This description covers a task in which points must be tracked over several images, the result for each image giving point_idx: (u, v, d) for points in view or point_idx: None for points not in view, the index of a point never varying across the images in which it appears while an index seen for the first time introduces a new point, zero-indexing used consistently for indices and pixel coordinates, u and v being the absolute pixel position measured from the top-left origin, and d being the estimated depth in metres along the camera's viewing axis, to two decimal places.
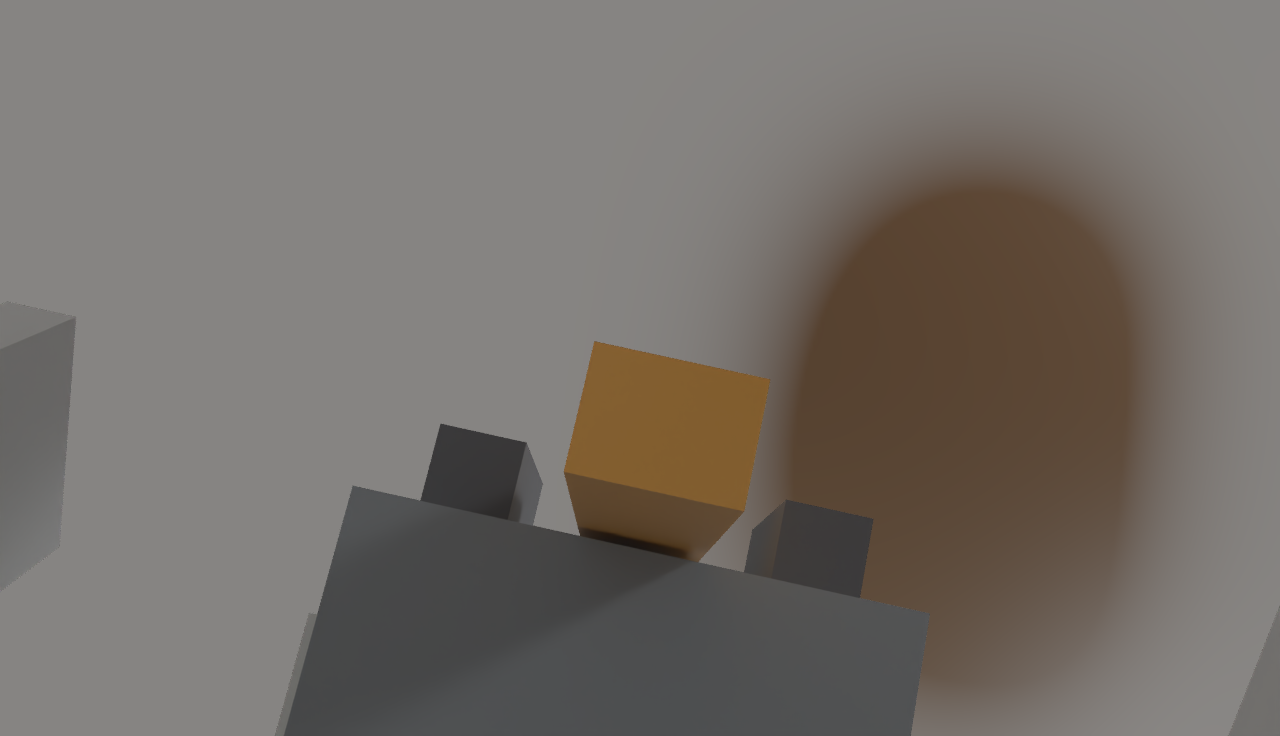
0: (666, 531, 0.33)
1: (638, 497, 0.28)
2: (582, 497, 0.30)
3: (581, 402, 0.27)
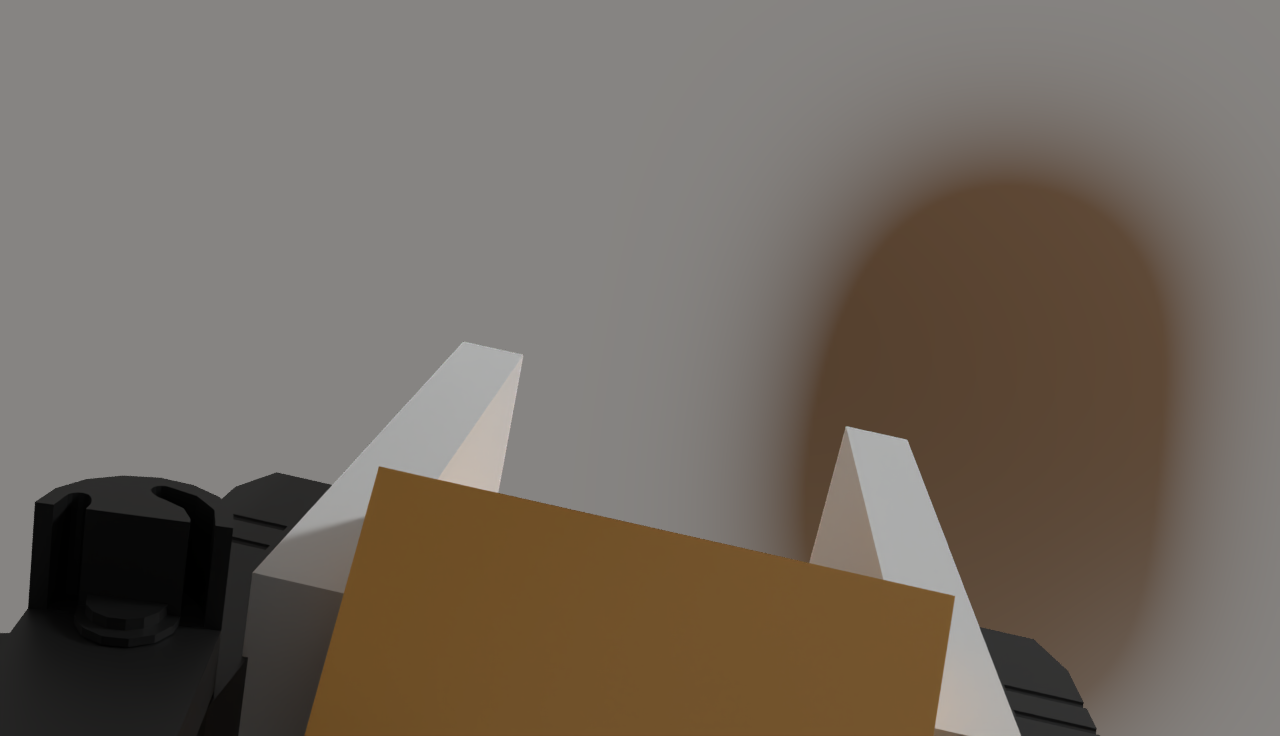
0: None
1: None
2: None
3: (325, 676, 0.08)
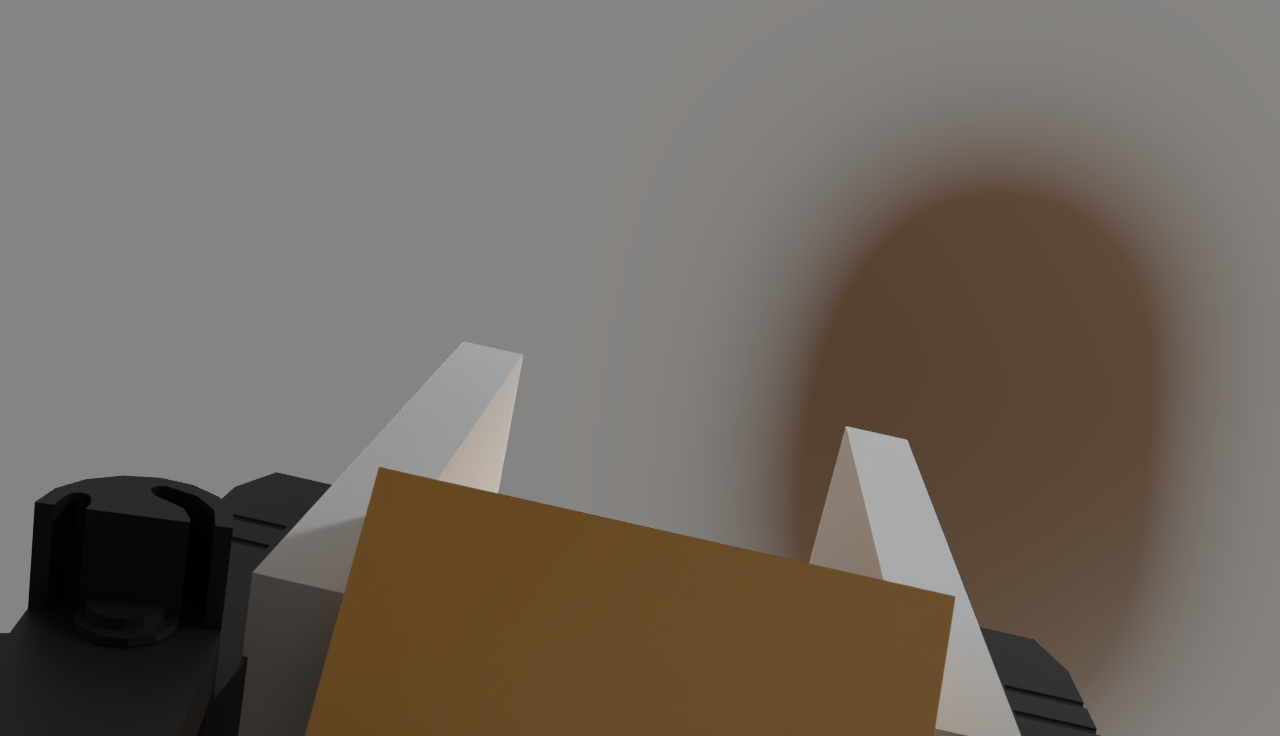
0: None
1: None
2: None
3: (326, 677, 0.08)
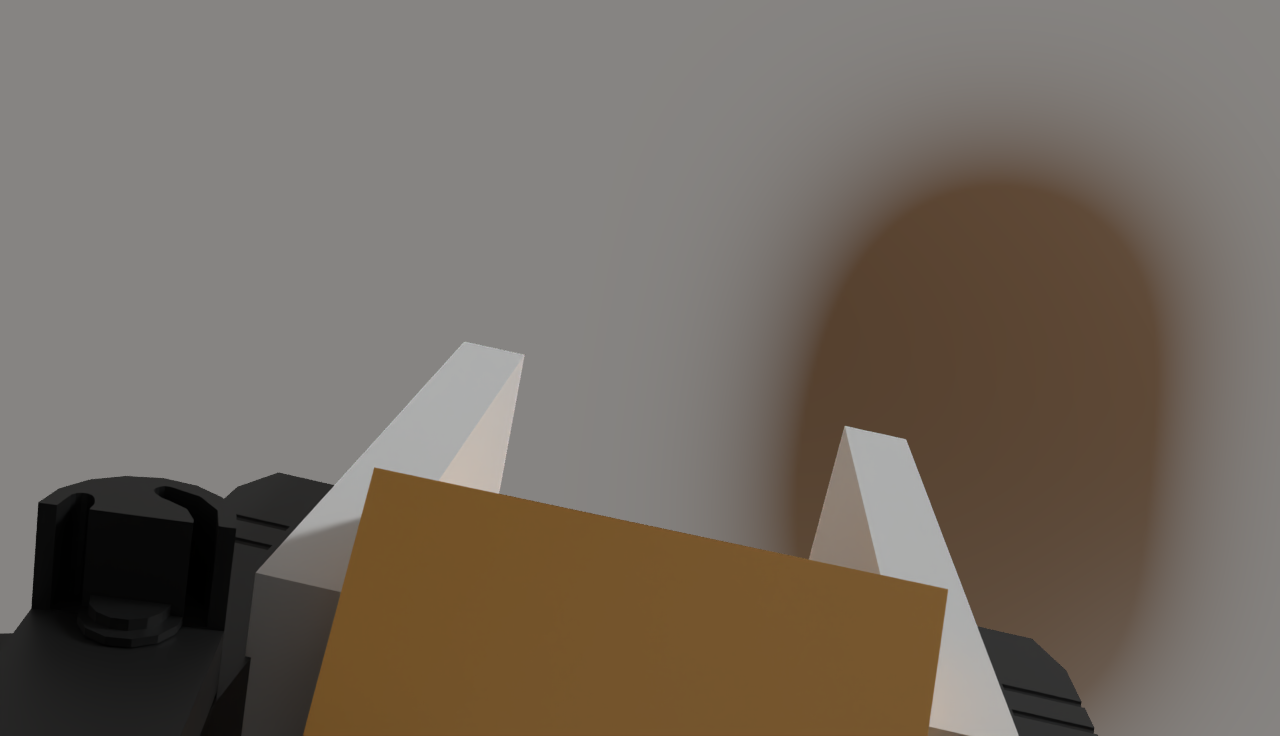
0: None
1: None
2: None
3: (323, 677, 0.08)
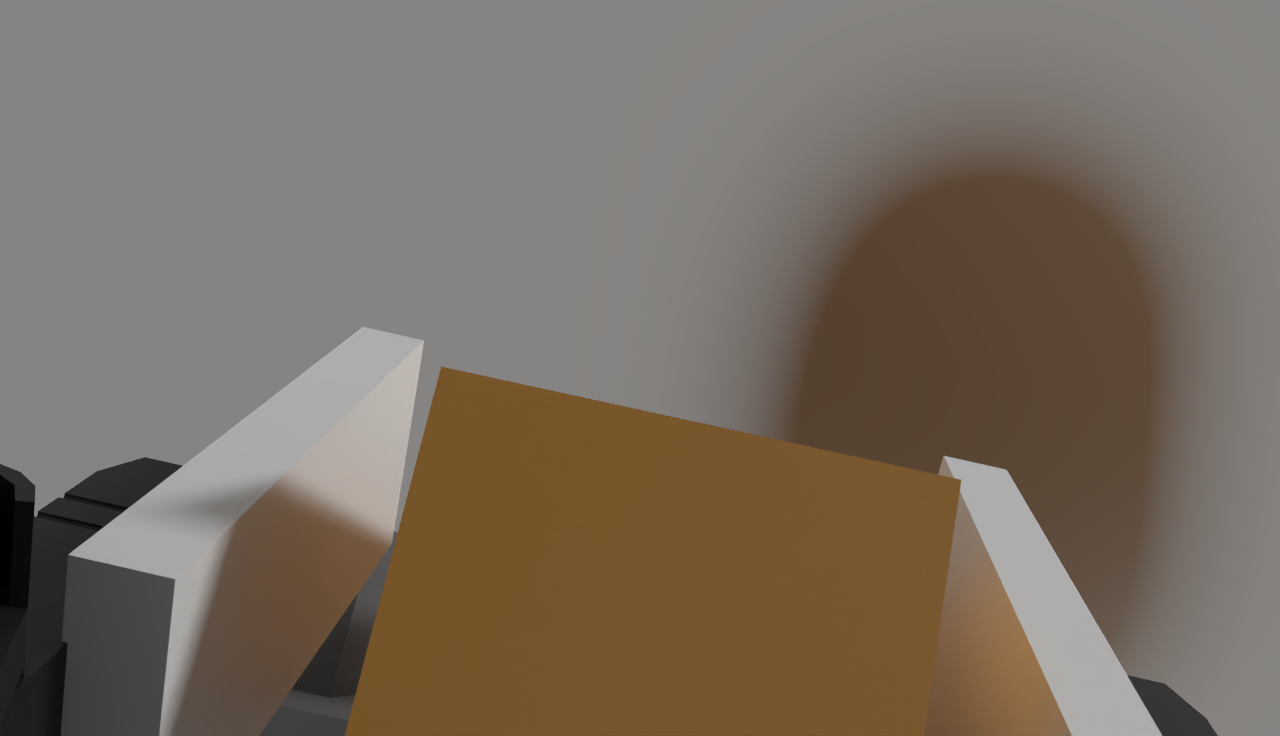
0: None
1: None
2: None
3: (397, 553, 0.09)
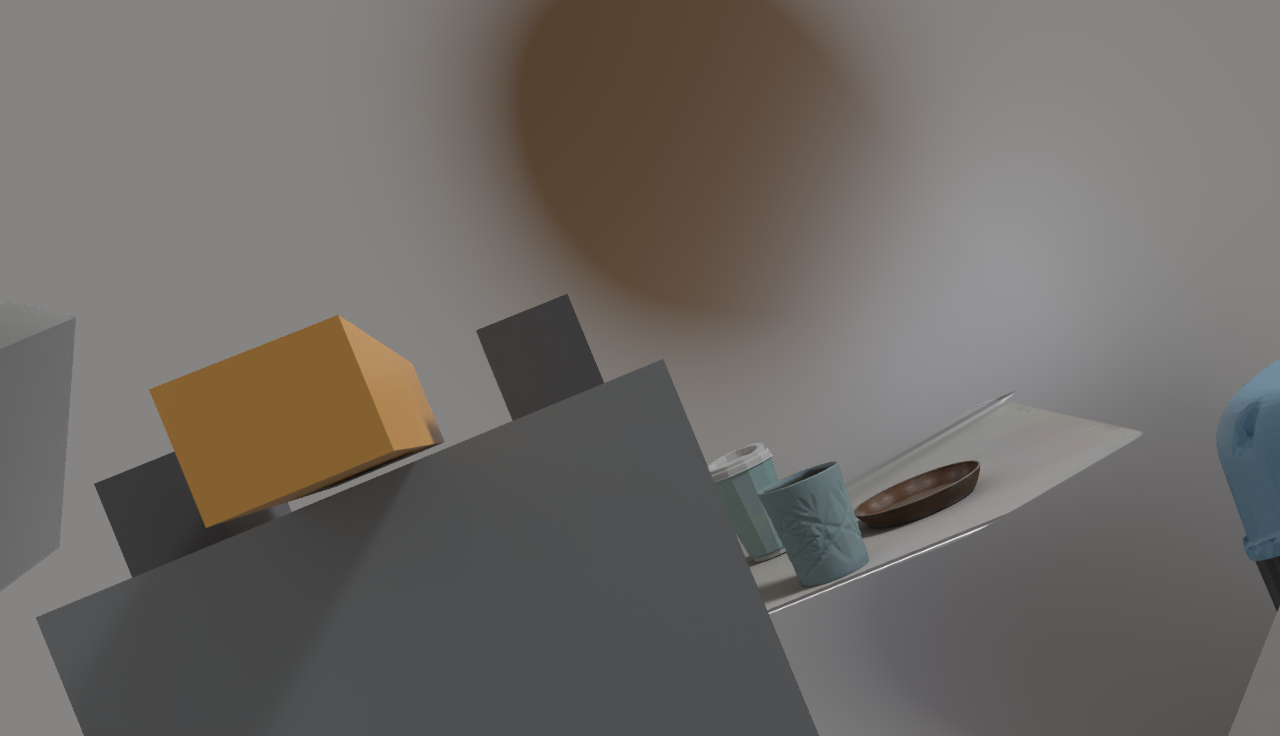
0: (371, 466, 0.32)
1: (299, 491, 0.26)
2: (261, 509, 0.28)
3: (177, 454, 0.24)
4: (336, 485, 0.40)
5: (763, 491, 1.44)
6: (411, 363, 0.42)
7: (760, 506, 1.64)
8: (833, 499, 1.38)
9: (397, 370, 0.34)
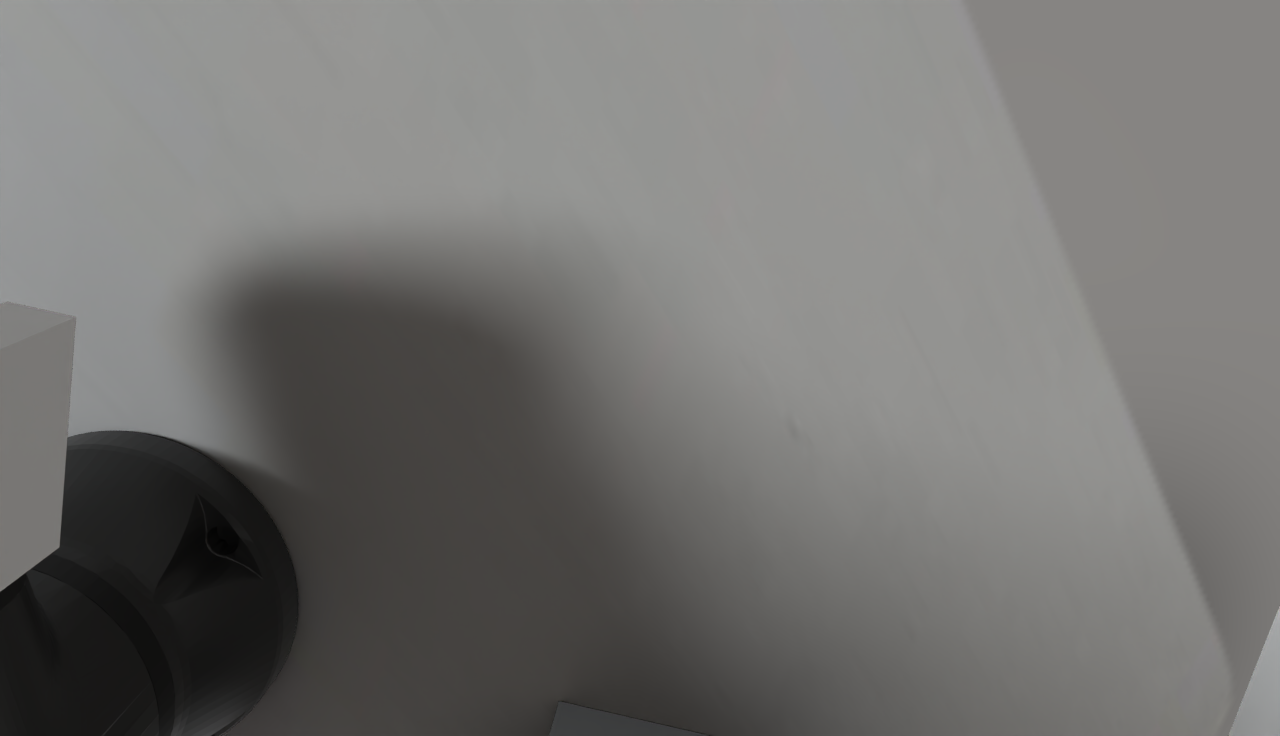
0: None
1: None
2: None
3: None
4: None
5: None
6: None
7: None
8: None
9: None
